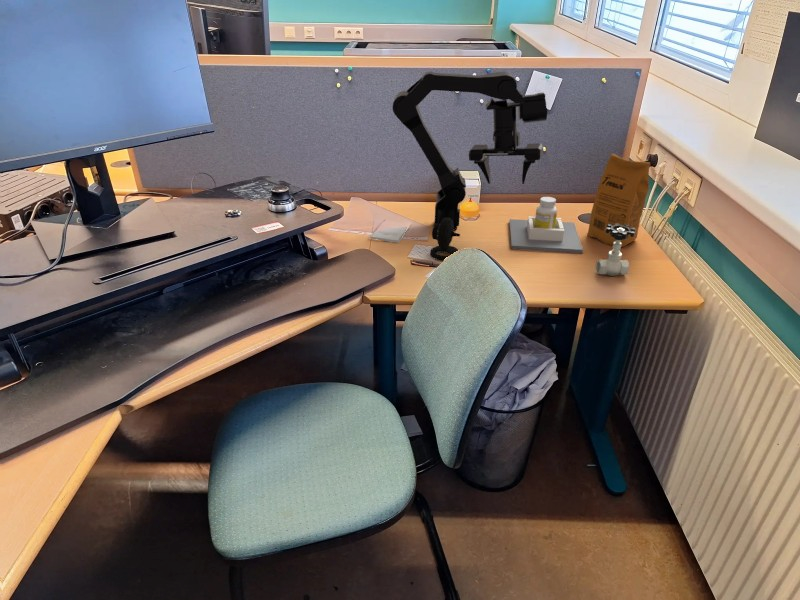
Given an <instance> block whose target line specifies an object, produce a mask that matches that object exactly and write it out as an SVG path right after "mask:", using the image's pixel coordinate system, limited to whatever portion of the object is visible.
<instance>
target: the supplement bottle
mask: <svg viewBox="0 0 800 600" xmlns="http://www.w3.org/2000/svg"><path fill="white" fill-rule="evenodd" d="M556 203H557V199H556V198H555V197H552V196H542V197H541V198H540V199H539V205H537V206H536V208H535V209H536V211H535V216H534V217H535V225H534V228H551V229H555V223H556V218H557V215H558V208H557V207H556Z"/></svg>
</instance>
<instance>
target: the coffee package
mask: <svg viewBox="0 0 800 600" xmlns="http://www.w3.org/2000/svg"><path fill="white" fill-rule="evenodd" d="M651 164H652V163H651V162H648V161H636V160H627V159H625V158H623V157H620V155H617V154H615V153H611V155H610V156H609V158H608V161H607V163H606V165H605V168H604V171H603V174H602V176H601V178H600V183H599V184H598V186H597V189H596V192H595V194H596V195H595V197H594V201H593V205H592V209H591V212H590V217H589V218H590V219H589V223H588V224H589V225H588V230H587V237H590V238H595V239H597V240H599V241H600V242H602V243H603V244H606V245H611V246H613V243H614V242H615V241H616V240H615V239H614V237H611V235H610V231H609V233H606V232H605V231H606V228H607V225H608V224H611V225H613V226H614V224H615V223H619V224H620V225H622V226H624V225H625V224H627V225H629V228H635V229H636V230H635V235H634V237H630V234H629V235H628V238H627V239H624V240H621V241H620V242H621V243H622V245H621V248H623V247H625V246H627V245H629V244H631V243H632V242H633V241H635V240H636V239H637V238H638V233H639V228H640V221H641V218H642V216H643V212H644V208H645V205H646V199H647V198H648V193H649V189H650V186H649V183H650V180H649V179H650V174H649V173H650V168H651ZM614 230H617V228H616V229H614ZM624 232H627V230H624Z"/></svg>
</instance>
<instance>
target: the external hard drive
mask: <svg viewBox="0 0 800 600" xmlns="http://www.w3.org/2000/svg"><path fill="white" fill-rule="evenodd" d="M406 229H407V227H406V226H405V227H400V228H390V229H386V230H381V231H375V230H374V231H375V232H374V231H373V232H372V234H371V235H370V236H369V239H370V238H371V239H378V240H384V241H383V242H386V241H389V242H388V243H392V242H396V243H395V244H400V242H401V241H402V239H403V238H402V236H403V235H404V233H405V231H406ZM404 236H405V235H404ZM404 236H403V237H404ZM401 238H402V239H401ZM399 241H400V242H399Z"/></svg>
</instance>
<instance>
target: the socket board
mask: <svg viewBox="0 0 800 600" xmlns="http://www.w3.org/2000/svg"><path fill="white" fill-rule="evenodd" d="M535 217H536V216H530V215H528V217H527V219H514V218H513V219H512V218H509V235H510V248H511V250H521V251H522V250H523V251H536V252H537V251H538V252H539V251H540V252H542V251H543V252H554V253H555V252H556V253H569V254H571V253H572V254H583V252H584V248H583V245H582V242H581V239H580V237H579V233H578V231H577V226H576V224H575V222H571V221H570V222H569V221H562V218H561V217H556V223H555V229H551V228H534V225H535Z"/></svg>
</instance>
